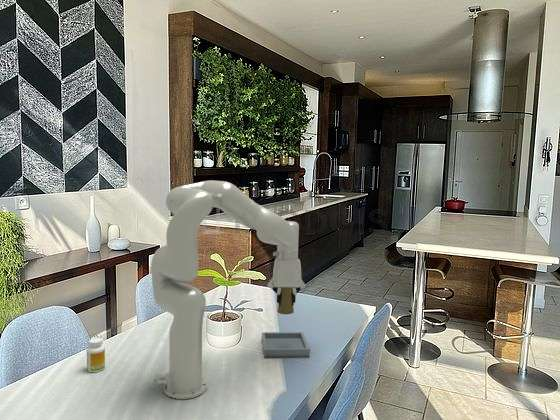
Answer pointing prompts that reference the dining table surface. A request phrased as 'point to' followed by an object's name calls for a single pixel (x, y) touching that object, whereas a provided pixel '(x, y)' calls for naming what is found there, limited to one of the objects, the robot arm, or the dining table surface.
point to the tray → (285, 345)
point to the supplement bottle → (95, 355)
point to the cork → (286, 301)
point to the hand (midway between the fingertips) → (285, 304)
